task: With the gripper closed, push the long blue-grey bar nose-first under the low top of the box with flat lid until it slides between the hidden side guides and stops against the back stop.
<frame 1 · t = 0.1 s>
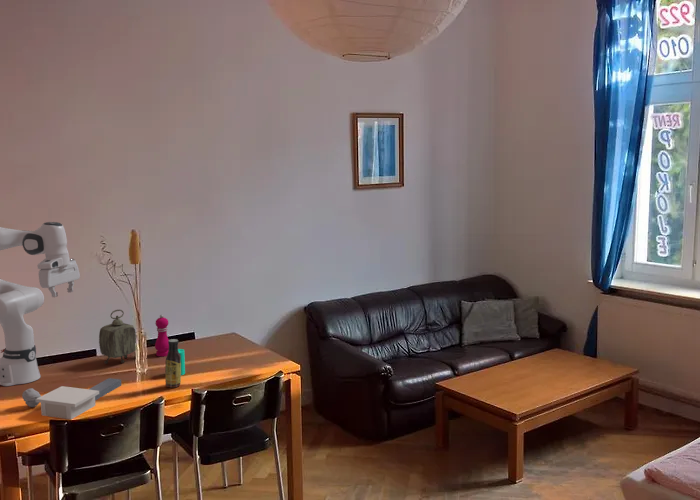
hand: (62, 294, 274), 39 cm above the table, tool pointing down, fingers open, 8 cm apart
frog figurine: (32, 406, 256), on the table
sauce bottle: (173, 386, 280), on the table
blue-grey bar: (102, 393, 272), on the table
box with flat lid: (70, 409, 254), on the table
candle: (178, 374, 294), on the table
pepper mill: (163, 355, 321), on the table
tabletop clock: (119, 362, 309), on the table
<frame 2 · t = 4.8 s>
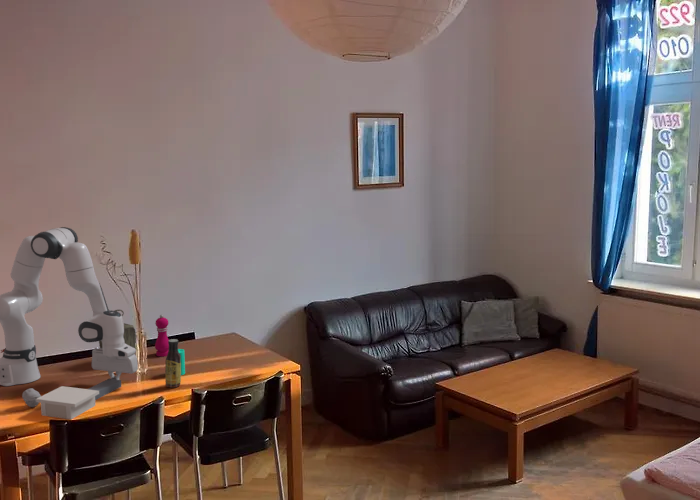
hand: (115, 381, 280), 2 cm above the table, tool pointing down, fingers closed
blue-grey bar: (100, 393, 271), on the table
everything else where it was.
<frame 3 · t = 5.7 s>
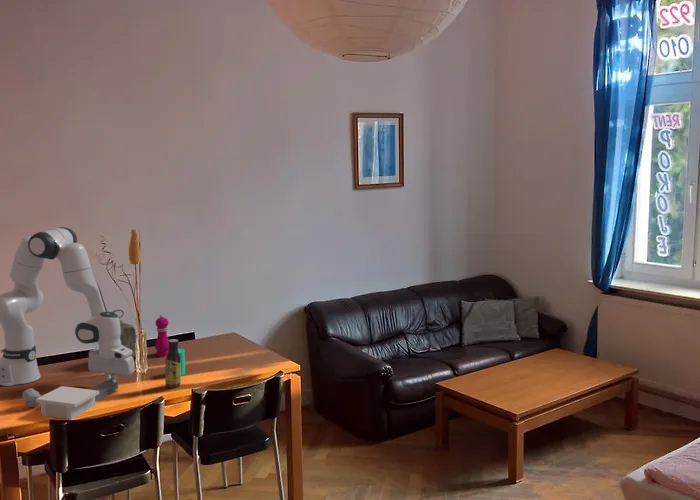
hand: (111, 382, 278), 2 cm above the table, tool pointing down, fingers closed, pressing on blue-grey bar
blue-grey bar: (98, 396, 269), on the table, touching gripper
everything else where it was.
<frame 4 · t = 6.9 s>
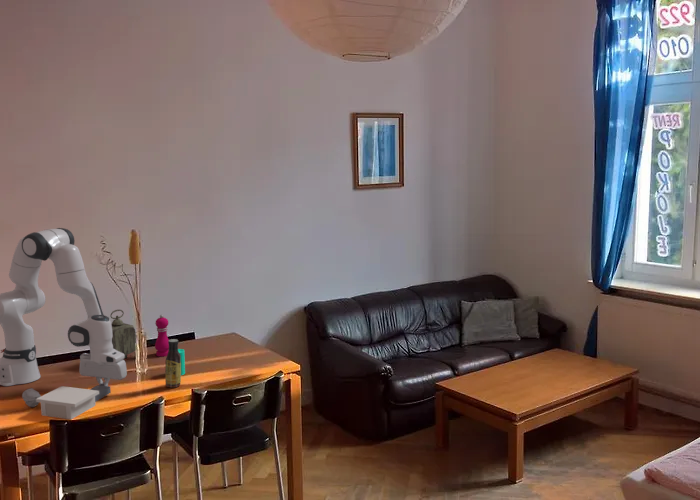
hand: (103, 387, 272), 2 cm above the table, tool pointing down, fingers closed
blue-grey bar: (90, 400, 263), on the table, touching gripper
everything else where it was.
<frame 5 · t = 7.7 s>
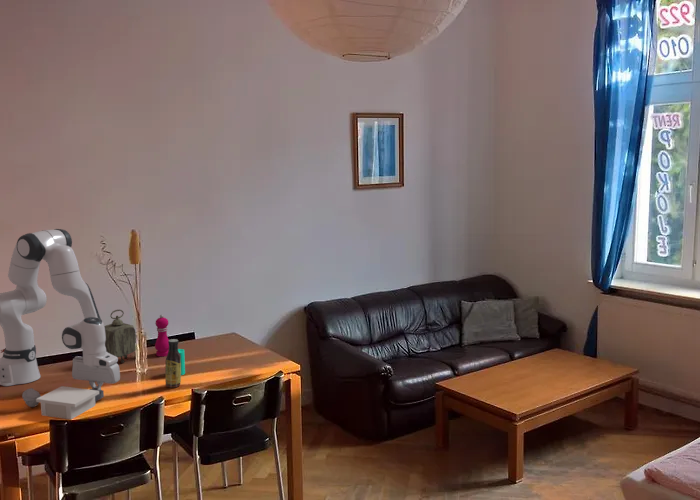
hand: (96, 391, 268), 2 cm above the table, tool pointing down, fingers closed
blue-grey bar: (82, 404, 259), on the table, touching gripper
everything else where it was.
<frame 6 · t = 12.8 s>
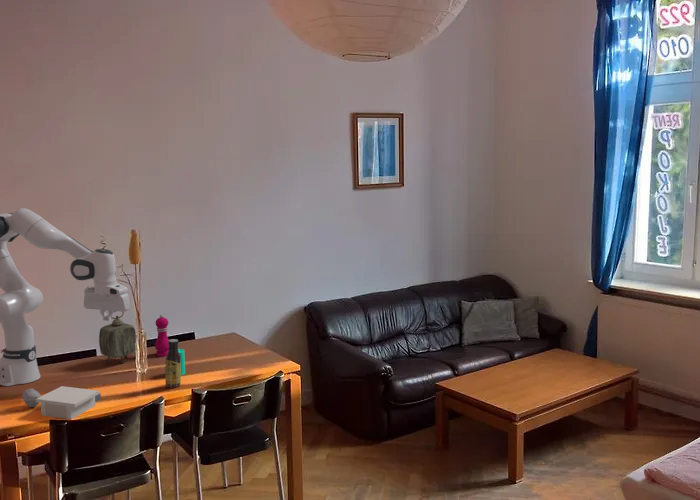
hand: (107, 320, 279), 27 cm above the table, tool pointing down, fingers closed
blue-grey bar: (78, 407, 257), on the table
everything else where it was.
at the end: blue-grey bar 1.0 cm from the target spot on the box with flat lid, point -0.5 cm above the box with flat lid's base; blue-grey bar tilted 0°; blue-grey bar moved 15.8 cm from its start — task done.
